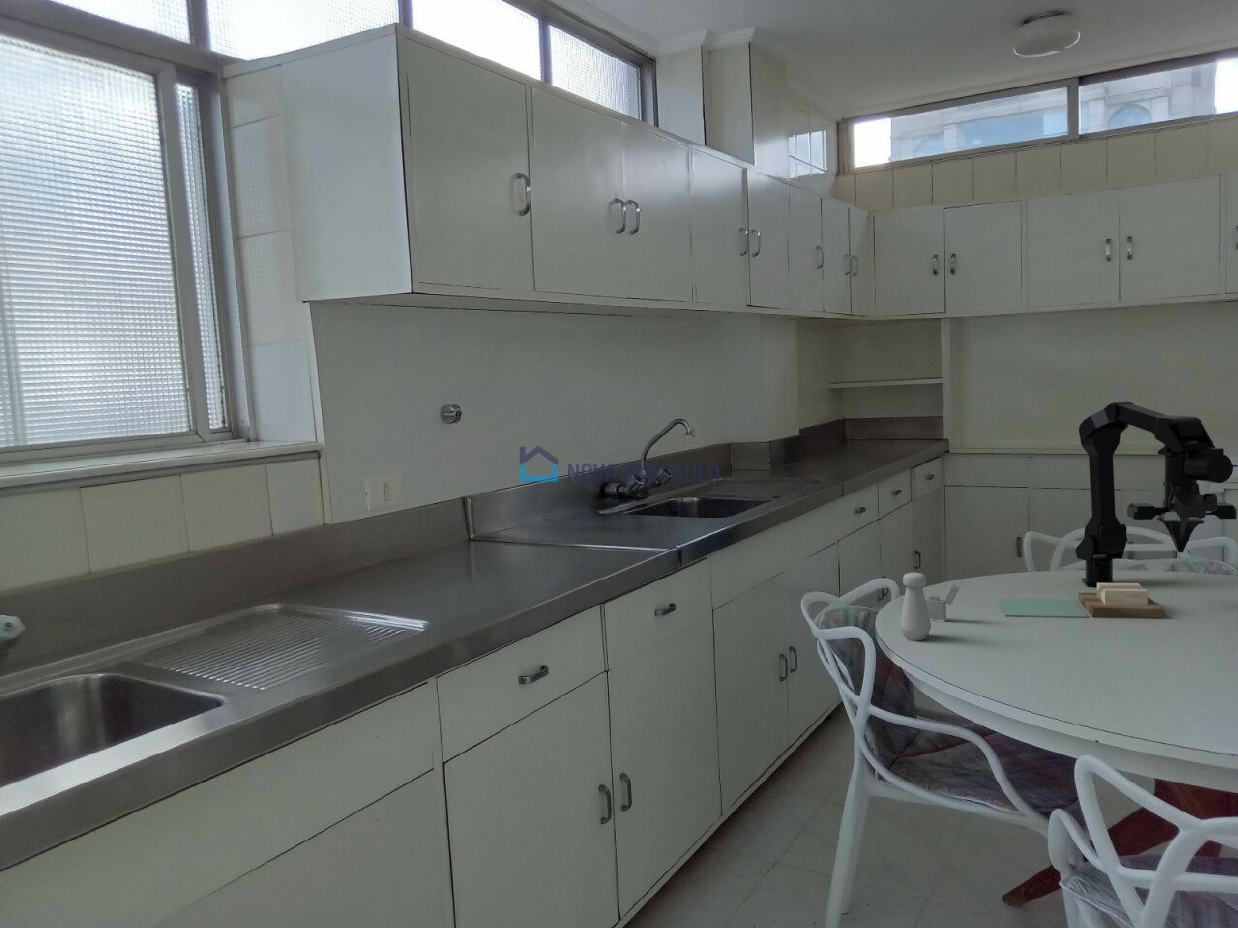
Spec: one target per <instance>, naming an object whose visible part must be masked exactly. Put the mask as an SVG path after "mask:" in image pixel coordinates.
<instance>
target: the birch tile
mask: <svg viewBox="0 0 1238 928" xmlns="http://www.w3.org/2000/svg"><path fill="white" fill-rule="evenodd" d="M1148 592H1149V591H1148V590H1147V589H1146V588H1145V587H1144V586H1142V585H1141V584H1140V583H1138V582H1115V583H1097V586H1096V593H1097V597H1098V598H1099V599H1100V600H1101V601H1102V602H1103V603H1104V604H1113V605H1148V597H1149V595H1148V594H1149V593H1148Z"/></svg>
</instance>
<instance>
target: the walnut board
mask: <svg viewBox="0 0 1238 928" xmlns="http://www.w3.org/2000/svg"><path fill="white" fill-rule="evenodd" d="M1078 603H1079V604H1080V605H1081V606H1082V607H1083V608H1084V609H1085V610H1086V611H1087V613H1088V614H1090V616H1091V617H1092V618H1112V619H1113V618H1117V619H1120V618H1122V619H1123V618H1124V619H1125V618H1126V619H1162V620H1163V619H1164V608H1163V607H1161V606H1160V605H1159V604H1158V603H1157V602H1155V600H1152V599H1151V598H1150V597H1149V596H1148V605H1113V604H1104V603H1103V602H1102V601H1101V600H1100V599H1099V598H1098V597H1097V592H1078Z"/></svg>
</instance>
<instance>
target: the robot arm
mask: <svg viewBox="0 0 1238 928" xmlns="http://www.w3.org/2000/svg"><path fill="white" fill-rule="evenodd" d="M1129 425H1130V426H1133V427H1135V428H1137V429H1141V430H1143V431H1146V432H1149V433H1151V434H1152V435H1153V437H1154V439H1155V440H1157V441H1158V442H1160V443H1162V444H1163V445H1164V446H1162V447H1161V448H1160V449H1159V450H1158V451H1157V452H1156V453H1157V455H1159V456H1164V481H1162V482H1163V487H1164V499H1163V501H1162V502H1163V503H1162V505H1163V506H1154V505H1153V504H1151V503H1149V502H1132V503H1129V504H1128V505H1127V507H1126V510H1127V511H1126V516H1127V517H1129V518H1130V519H1132V520H1134V521H1152V520H1153V519H1154V518H1155V517H1157V518H1156V520H1157V521H1159V522H1161V523H1162V524H1164V526H1165V527H1166V529H1167V532H1168V533H1169V535H1170V537H1171V540H1172V542H1173V544H1174V547H1175V550H1176V551H1177V552H1178V553H1184V551H1185V549H1186V547H1187V544H1188V542H1189V540H1190V537H1191V535H1192V533H1193V531H1194V530H1195V528H1196V527H1198V526H1199V525H1200V524H1201V525H1202V524H1204V523H1205V522H1206V521H1205V520H1203V519H1205V518H1206V516H1215V517H1216V518H1218V519H1219V520H1237V518H1238V517H1237V516H1238V511H1237V508H1236V506H1234V504H1230V503H1228V502H1225V501H1222V502H1221V501H1219V502H1218V496H1217V494H1216V493H1204V494H1201V491H1200V484H1199V483H1198V481H1202V482H1207V483H1216V484H1222V483H1224V482H1225V483H1226V482H1227V481H1228V480H1229V479H1230V477H1232V474H1233V471H1234V464H1232V461H1231V459H1230V457H1228V456H1227V455H1225V454H1224V453H1225V451H1224V448H1221V447H1216V446H1215V444H1214V441H1213V440H1212V439H1211V437H1210V435H1209V434H1208V432H1207V430H1206V428H1205V426H1204V425H1203V423H1202V420H1201V419H1200V418H1198V417H1196V416H1188V415H1168V414H1164V413H1161V412H1159V411H1156V410H1154V409H1153V410H1152V409H1149V408H1146V407H1144V406H1140V405H1138V404H1135V403H1133V402H1131V401H1114V402H1113V401H1112V402H1111V403H1109V404H1107V405H1106V406H1105V407H1104V408H1102V409H1101V410H1098V411H1097V412H1094V413H1093V414H1091V415H1089V416H1088V417H1087V418H1085V419H1083V420H1082V422H1081V423H1080V424H1079V428H1078V435H1079V439H1080V440H1079V441H1080V446H1082V448H1083V449H1084V451H1085V452H1086V454H1087V455H1088V459H1089V461H1088V462H1089V481H1090V483H1089V484H1090V485H1089V487H1090V505H1091V506H1090V507H1091V509H1090V510H1091V517H1090V519H1089V520H1088V522H1087V524H1086V525H1085V527H1084V535H1083V536H1084V537H1083V539H1082V540H1081V542H1080V543H1079V544H1078V545H1077V547H1076V548H1075V554H1076V558H1077V559H1080V560H1083V561H1085V578H1084V577H1083V578H1081V582H1083V583H1084V585H1085V586H1087V587H1097V583H1116V582H1115V581H1114V572H1113V571H1114V560H1118V559H1119V560H1121V559H1123V555H1124V552H1125V550H1126V545H1127V542H1129V540H1128V537H1127V525H1126V524H1125V523H1121V522H1120V520H1119V519H1118V518H1117V513H1116V490H1115V469H1114V468H1115V467H1114V454H1115V453H1116V451H1117V449H1118V448H1119V445H1120V444H1121V439H1122V438H1121V436H1122V433H1124V431H1126V429H1128V428H1129V427H1130V426H1129Z"/></svg>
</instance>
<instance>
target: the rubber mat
mask: <svg viewBox="0 0 1238 928" xmlns="http://www.w3.org/2000/svg"><path fill="white" fill-rule="evenodd" d="M995 601H996V602H997V604H998V606H999V605H1000V606H999V608H1000V607H1001V608H1000V610H1001V611H1002V613H1003V615H1004V617H1025V618H1026V617H1031V618H1034V617H1036V618H1037V617H1038V618H1081V619H1082V618H1083V619H1084V618H1085V619H1086V618H1089V616H1088V615H1087V614H1086V612H1085V611H1084V610H1083V609H1082V608H1081V607H1080V605H1079V604H1078V603H1077V602H1076V600H1074V599H1072V598H1071V599H1068V598H1067V599H1065V598H1064V599H1062V598H1061V599H1060V598H1059V599H1058V598H1057V599H1056V598H1055V599H1054V598H1046V599H1045V598H1000V597H999V598H995Z"/></svg>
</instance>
